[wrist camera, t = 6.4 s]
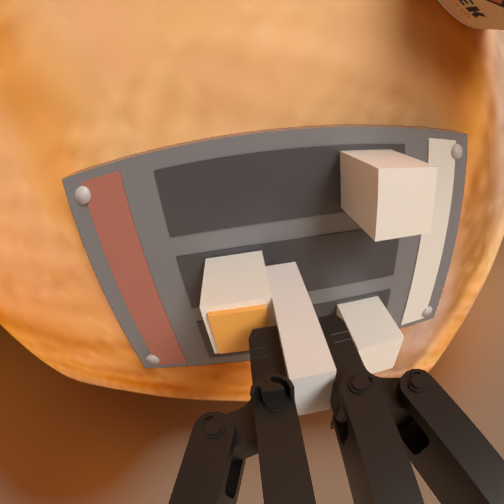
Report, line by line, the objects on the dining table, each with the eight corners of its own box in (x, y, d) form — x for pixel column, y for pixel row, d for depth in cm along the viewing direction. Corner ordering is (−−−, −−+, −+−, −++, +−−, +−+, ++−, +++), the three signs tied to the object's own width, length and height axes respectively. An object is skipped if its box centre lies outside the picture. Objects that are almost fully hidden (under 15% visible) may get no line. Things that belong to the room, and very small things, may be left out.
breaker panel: (148, 354, 20) (135, 411, 16) (74, 172, 13) (17, 206, 8) (425, 307, 21) (457, 350, 16) (452, 130, 13) (514, 148, 8)
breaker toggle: (216, 302, 16) (214, 358, 12) (205, 258, 15) (199, 311, 11) (267, 295, 16) (278, 350, 12) (261, 250, 15) (273, 302, 11)
